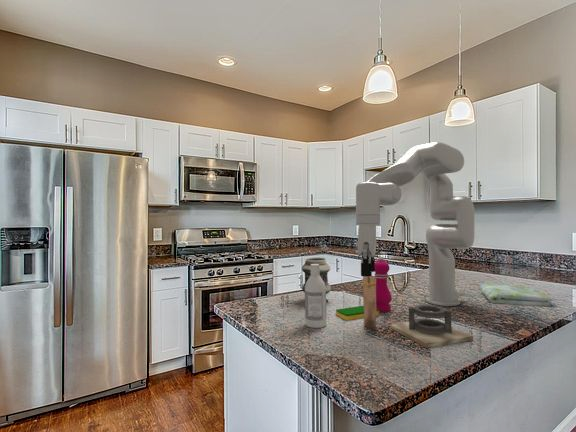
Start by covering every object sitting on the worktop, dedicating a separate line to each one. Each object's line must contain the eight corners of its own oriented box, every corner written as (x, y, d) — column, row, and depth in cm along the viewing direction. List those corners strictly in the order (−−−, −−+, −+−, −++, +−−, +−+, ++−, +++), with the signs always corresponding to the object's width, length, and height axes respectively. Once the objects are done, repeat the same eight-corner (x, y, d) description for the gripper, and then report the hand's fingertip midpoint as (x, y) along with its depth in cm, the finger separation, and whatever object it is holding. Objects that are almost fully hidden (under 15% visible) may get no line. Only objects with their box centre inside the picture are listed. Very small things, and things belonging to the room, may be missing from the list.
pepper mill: (392, 312, 119) (391, 257, 119) (372, 311, 121) (371, 257, 121) (390, 306, 126) (389, 255, 126) (371, 306, 128) (370, 255, 128)
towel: (554, 308, 122) (553, 294, 122) (489, 304, 129) (489, 291, 129) (535, 296, 139) (534, 284, 139) (478, 293, 146) (478, 282, 146)
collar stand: (432, 322, 107) (432, 299, 107) (473, 340, 92) (472, 313, 92) (390, 328, 103) (390, 304, 103) (425, 347, 87) (425, 319, 87)
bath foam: (313, 320, 112) (312, 262, 112) (330, 324, 108) (329, 263, 108) (301, 325, 107) (300, 264, 107) (318, 330, 102) (317, 266, 102)
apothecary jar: (298, 304, 133) (297, 260, 133) (307, 297, 144) (306, 256, 144) (326, 306, 128) (326, 261, 128) (334, 299, 140) (333, 257, 139)
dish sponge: (335, 316, 118) (335, 309, 118) (367, 311, 123) (367, 304, 123) (346, 321, 111) (346, 314, 111) (379, 316, 116) (379, 309, 116)
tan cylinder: (372, 323, 108) (371, 275, 108) (379, 327, 104) (378, 277, 104) (361, 324, 106) (360, 276, 106) (367, 329, 102) (366, 278, 102)
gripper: (359, 220, 114) (360, 269, 114) (351, 220, 98) (352, 277, 98) (382, 220, 112) (382, 270, 112) (377, 220, 96) (377, 279, 95)
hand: (368, 273), depth 105 cm, fingers open, 9 cm apart
